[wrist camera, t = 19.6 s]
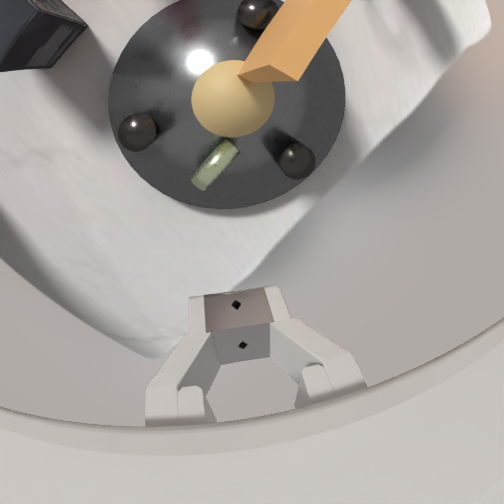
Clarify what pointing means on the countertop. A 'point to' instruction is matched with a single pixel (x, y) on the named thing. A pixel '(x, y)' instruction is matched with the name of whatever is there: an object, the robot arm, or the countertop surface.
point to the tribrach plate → (189, 128)
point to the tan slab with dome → (263, 68)
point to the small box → (35, 33)
